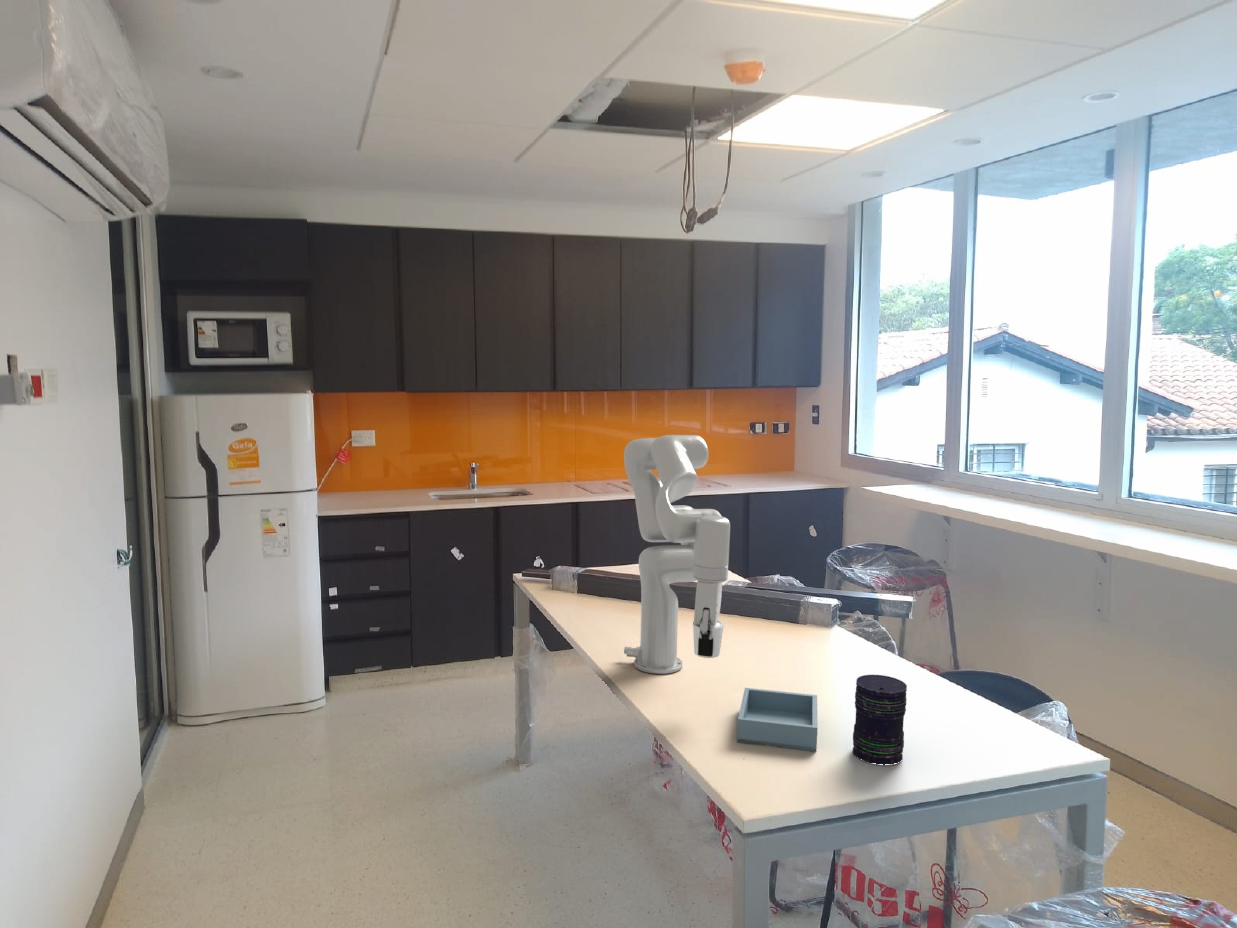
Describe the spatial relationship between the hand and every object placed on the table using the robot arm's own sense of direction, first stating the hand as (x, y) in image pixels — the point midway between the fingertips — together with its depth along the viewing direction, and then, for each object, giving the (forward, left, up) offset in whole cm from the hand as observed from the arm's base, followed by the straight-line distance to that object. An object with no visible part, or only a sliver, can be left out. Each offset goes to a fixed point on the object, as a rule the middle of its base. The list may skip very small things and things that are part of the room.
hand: (707, 649), depth 186 cm
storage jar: (+36, -12, -15) cm, 41 cm away
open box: (+16, -5, -14) cm, 22 cm away
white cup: (0, 0, -1) cm, 1 cm away
